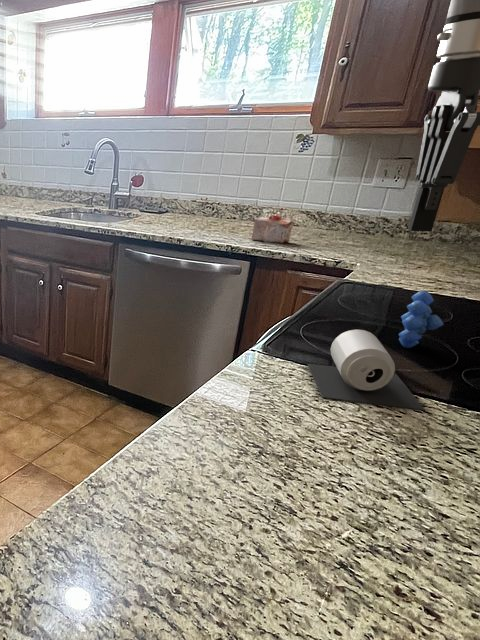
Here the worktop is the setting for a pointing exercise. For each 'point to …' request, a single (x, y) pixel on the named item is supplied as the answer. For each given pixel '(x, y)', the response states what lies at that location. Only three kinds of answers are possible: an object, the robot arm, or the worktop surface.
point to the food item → (272, 229)
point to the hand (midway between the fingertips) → (419, 230)
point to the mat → (337, 389)
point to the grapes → (418, 319)
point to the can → (362, 360)
